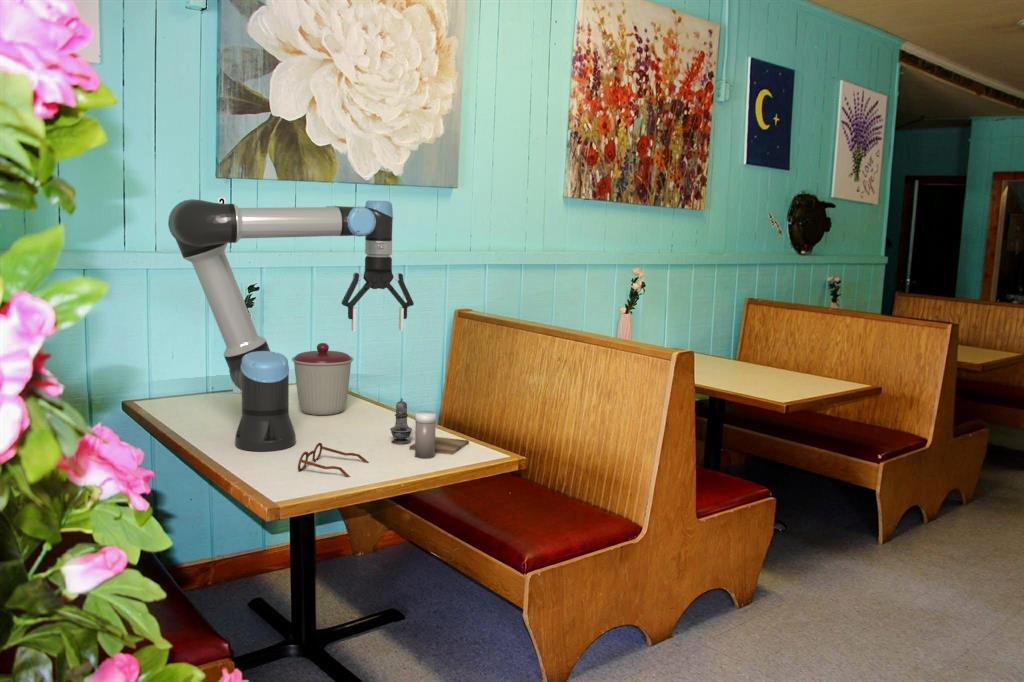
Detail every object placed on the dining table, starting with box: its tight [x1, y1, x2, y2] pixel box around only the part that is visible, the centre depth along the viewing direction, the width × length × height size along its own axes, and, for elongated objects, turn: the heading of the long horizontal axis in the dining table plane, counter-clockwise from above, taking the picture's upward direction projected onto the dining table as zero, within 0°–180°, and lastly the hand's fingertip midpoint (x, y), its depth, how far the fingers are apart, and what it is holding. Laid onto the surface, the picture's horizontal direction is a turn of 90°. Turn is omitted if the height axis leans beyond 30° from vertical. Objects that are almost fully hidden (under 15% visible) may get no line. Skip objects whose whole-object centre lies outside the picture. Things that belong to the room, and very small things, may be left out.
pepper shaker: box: [414, 410, 437, 460], centre depth 223 cm, size 5×5×11 cm
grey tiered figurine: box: [389, 397, 413, 446], centre depth 236 cm, size 6×6×12 cm
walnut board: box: [408, 436, 470, 455], centre depth 233 cm, size 12×12×1 cm
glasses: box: [297, 442, 370, 478], centre depth 211 cm, size 13×13×5 cm
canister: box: [291, 342, 354, 416], centre depth 267 cm, size 18×18×21 cm
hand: (377, 330), depth 254 cm, fingers open, 13 cm apart
